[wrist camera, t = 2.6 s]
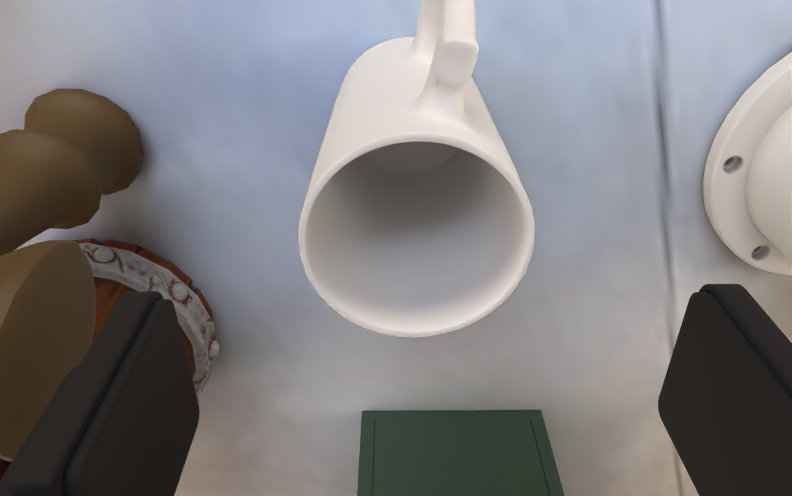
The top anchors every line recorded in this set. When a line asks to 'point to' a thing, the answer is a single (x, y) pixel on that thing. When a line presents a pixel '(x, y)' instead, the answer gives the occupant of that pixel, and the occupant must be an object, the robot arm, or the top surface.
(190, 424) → the robot arm
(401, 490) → the bin
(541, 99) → the top surface
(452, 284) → the mug
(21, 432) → the kendama
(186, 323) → the mug
